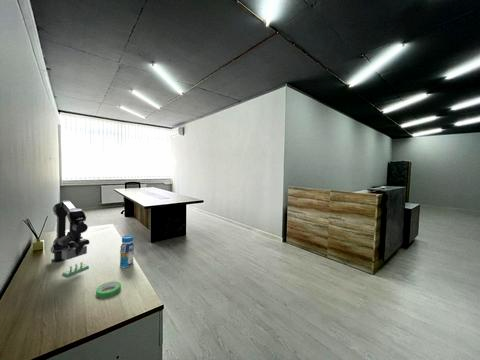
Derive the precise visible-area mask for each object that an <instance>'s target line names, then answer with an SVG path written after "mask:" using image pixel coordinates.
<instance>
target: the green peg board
mask: <svg viewBox="0 0 480 360" xmlns="http://www.w3.org/2000/svg"><path fill="white" fill-rule="evenodd" d="M89 268H90V266H89V265H88V264H85V263H83V261H80V265H78V263H75V264H74V267H73V265H69V269H67V270H64V271H62V274H61V275H63V276H65V277H69V276H72V275H75V274H77V273H80V272H82V271H84V270H87V269H89Z"/></svg>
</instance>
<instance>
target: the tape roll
mask: <svg viewBox="0 0 480 360" xmlns="http://www.w3.org/2000/svg"><path fill="white" fill-rule="evenodd" d="M108 288H109V289H110V288H113V289H110V290H106V289H108ZM121 289H122V283H121V282H119V281H115V280H114V281H107V282H105V283H102V284H101V285H99V286H98V287H97V288H96V291H95V295H96V297H97V298H100V299H103V298H109V297H112V296H115V295H117V294H118V293H120V291H121ZM116 293H117V294H116ZM114 294H115V295H114Z"/></svg>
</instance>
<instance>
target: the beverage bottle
mask: <svg viewBox="0 0 480 360" xmlns="http://www.w3.org/2000/svg"><path fill="white" fill-rule="evenodd" d="M133 241H134V236H133V235H124V236H122V237H121V245H120V250H119V253H120V256H119V257H120V260H119V267H120V268H122V269H124V268H126V267H127V268H130V267H132V266H133V265H134V256H135V255H134V254H135V253H134V252H135V244H134V242H133ZM129 266H130V267H129Z"/></svg>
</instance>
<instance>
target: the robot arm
mask: <svg viewBox="0 0 480 360" xmlns="http://www.w3.org/2000/svg"><path fill="white" fill-rule="evenodd" d="M52 211H53V214H54V215H55V216H56V237H55V239H54V240H53V242H52V243H53V244H52V245H51V247H50V253H51V254H53V259H51V261H53V262H55V263H58V262H62V261H64V260H65V259H62V250H65V249H68V248H72V247H75V249H76V255H79V253H80V251H81V250H82V248H83V247H84V245H85V246H88V245H90V240H89V239H88V238H87V239H86V238H83V236H82V234H83V233H85V232H86V231H88V229H89V227H88V225H87V224H86V223H85V222H86V220H87V216H86V213H85V212H84V210H83V209H81V208H76V207H75V205H74V204H73V203H72V201H71V200H61V201H60V202H58V203H56V204H55V205H53V207H52ZM66 219H67V220H68V222H69V231H68V232H67V233H66V227H67V226H66V225H67V224H66V223H67V220H66Z"/></svg>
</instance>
